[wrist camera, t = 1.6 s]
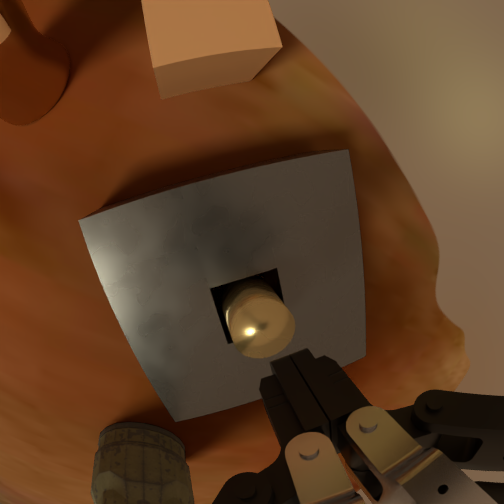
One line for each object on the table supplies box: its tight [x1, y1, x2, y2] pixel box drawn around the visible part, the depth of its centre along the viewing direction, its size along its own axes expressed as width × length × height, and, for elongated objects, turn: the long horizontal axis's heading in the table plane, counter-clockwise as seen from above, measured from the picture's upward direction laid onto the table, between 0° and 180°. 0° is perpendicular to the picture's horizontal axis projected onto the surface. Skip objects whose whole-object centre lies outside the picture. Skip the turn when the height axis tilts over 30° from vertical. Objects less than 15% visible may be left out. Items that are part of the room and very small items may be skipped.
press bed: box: [79, 149, 366, 422], centre depth 17 cm, size 14×14×4 cm
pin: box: [221, 275, 295, 358], centre depth 15 cm, size 3×3×4 cm
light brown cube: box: [141, 0, 283, 100], centre depth 12 cm, size 6×6×6 cm
